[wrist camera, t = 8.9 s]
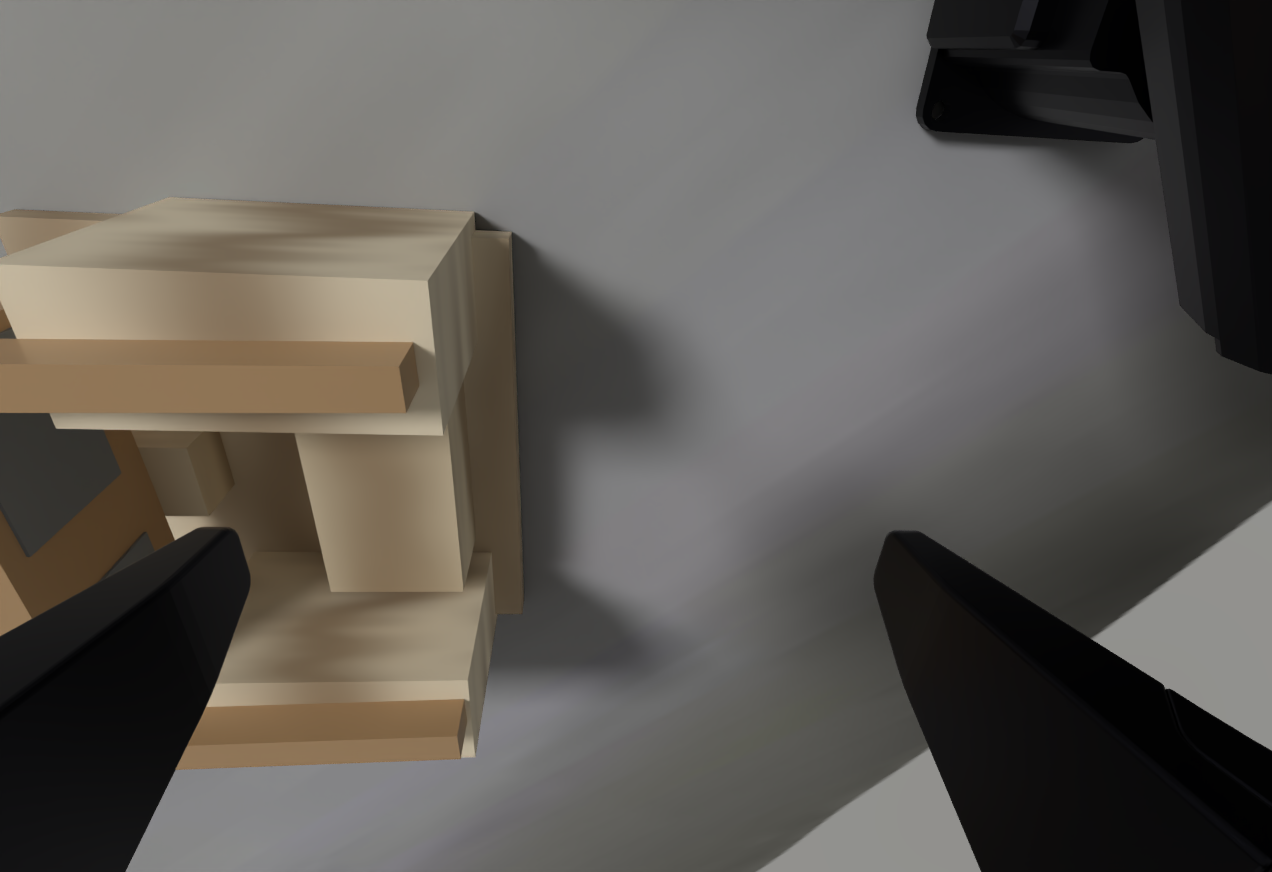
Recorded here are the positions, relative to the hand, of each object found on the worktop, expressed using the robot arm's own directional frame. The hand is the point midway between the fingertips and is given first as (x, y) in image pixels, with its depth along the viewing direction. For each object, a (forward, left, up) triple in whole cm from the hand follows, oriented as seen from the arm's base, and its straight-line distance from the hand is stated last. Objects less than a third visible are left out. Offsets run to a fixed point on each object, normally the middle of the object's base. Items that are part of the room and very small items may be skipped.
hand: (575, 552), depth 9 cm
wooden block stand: (+8, +6, -12) cm, 16 cm away
